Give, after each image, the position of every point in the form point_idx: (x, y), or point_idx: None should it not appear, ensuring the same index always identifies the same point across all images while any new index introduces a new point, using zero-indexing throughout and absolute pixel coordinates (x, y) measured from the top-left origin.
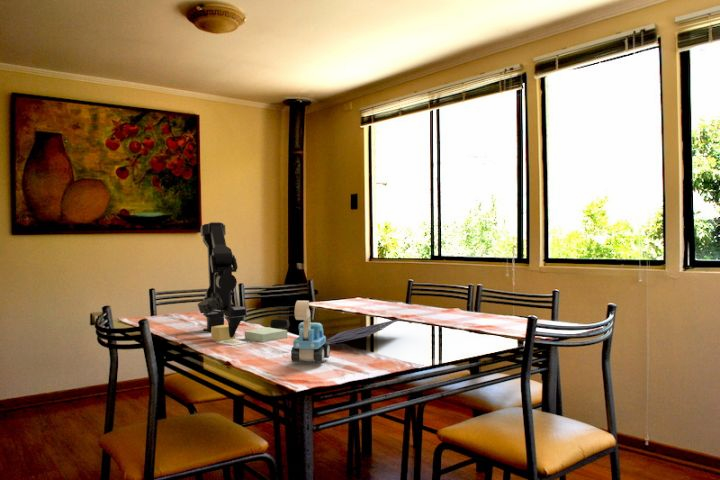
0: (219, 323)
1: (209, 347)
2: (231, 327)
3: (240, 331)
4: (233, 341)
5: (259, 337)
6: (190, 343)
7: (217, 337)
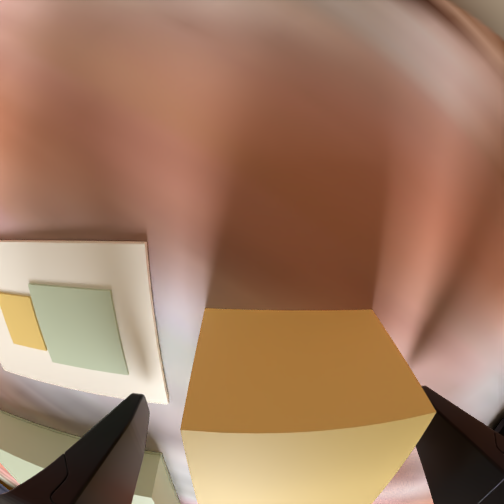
0: (432, 494)
1: (14, 59)
2: (61, 464)
3: (389, 498)
4: (59, 343)
5: (14, 436)
6: (383, 35)
7: (254, 332)
